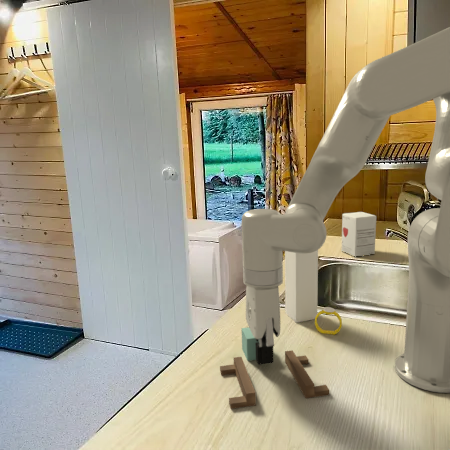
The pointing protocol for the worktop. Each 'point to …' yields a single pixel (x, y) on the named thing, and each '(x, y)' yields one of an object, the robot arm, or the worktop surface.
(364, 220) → the supplement box
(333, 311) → the watch
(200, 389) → the worktop surface
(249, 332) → the block
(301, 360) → the wooden brackets
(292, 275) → the milk
